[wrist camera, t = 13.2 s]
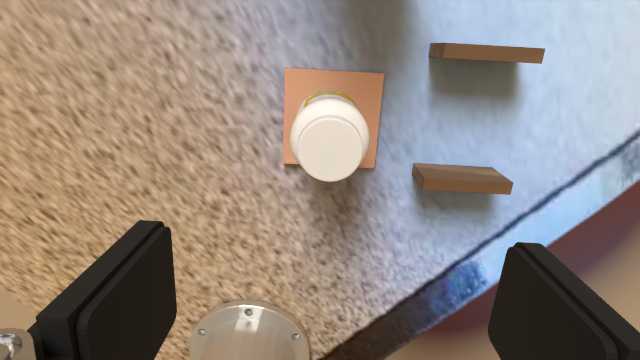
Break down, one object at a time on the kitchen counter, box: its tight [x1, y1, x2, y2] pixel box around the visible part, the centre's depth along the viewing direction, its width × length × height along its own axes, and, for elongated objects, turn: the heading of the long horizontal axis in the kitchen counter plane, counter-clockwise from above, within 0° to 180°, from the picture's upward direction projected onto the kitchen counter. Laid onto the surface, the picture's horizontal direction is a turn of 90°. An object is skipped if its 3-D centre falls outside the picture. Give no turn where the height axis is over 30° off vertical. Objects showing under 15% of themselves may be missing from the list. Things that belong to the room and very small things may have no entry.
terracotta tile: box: [283, 68, 384, 168], centre depth 32 cm, size 8×8×1 cm
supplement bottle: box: [290, 90, 370, 182], centre depth 27 cm, size 5×5×10 cm
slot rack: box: [412, 43, 545, 195], centre depth 30 cm, size 11×7×4 cm, turn 177°
